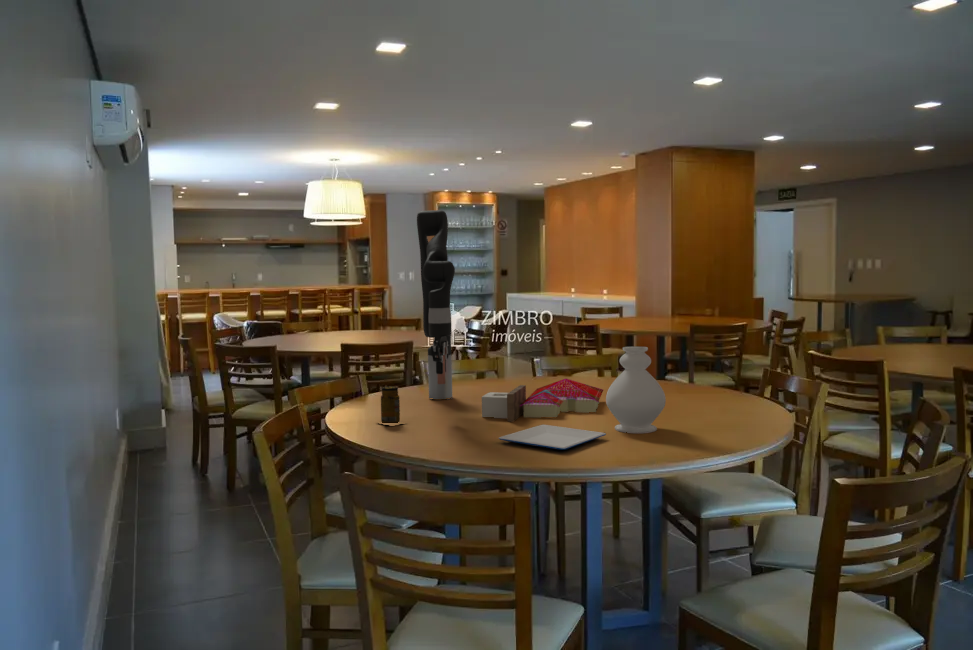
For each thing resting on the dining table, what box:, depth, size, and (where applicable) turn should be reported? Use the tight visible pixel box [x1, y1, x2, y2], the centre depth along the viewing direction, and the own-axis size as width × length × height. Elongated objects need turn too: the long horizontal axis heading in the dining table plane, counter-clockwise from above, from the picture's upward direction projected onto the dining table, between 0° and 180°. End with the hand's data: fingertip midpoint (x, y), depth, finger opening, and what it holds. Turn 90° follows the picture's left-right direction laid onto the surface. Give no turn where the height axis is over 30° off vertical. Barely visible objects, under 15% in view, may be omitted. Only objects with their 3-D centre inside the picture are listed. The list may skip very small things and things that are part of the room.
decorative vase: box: [605, 346, 667, 434], centre depth 223 cm, size 18×18×25 cm
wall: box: [506, 384, 527, 423], centre depth 248 cm, size 20×2×9 cm, turn 165°
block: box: [481, 391, 509, 419], centre depth 250 cm, size 10×10×7 cm
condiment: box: [380, 385, 401, 423], centre depth 239 cm, size 7×8×12 cm
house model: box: [520, 378, 604, 418], centre depth 261 cm, size 38×25×10 cm
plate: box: [498, 424, 607, 451], centre depth 209 cm, size 22×22×2 cm
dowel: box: [437, 352, 445, 384], centre depth 244 cm, size 3×3×12 cm
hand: (441, 372), depth 244 cm, fingers closed on dowel, 2 cm apart
